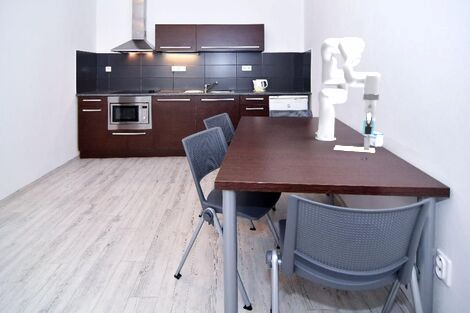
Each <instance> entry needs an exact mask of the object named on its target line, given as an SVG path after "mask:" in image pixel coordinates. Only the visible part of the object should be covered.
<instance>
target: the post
mask: <svg viewBox="0 0 470 313" xmlns="http://www.w3.org/2000/svg"><path fill="white" fill-rule="evenodd" d="M363 139H364V140H363V141H364V142H363V147H364V150H369V148H371V147H370V146H371V145H370V136H367V135H364V138H363Z"/></svg>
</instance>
